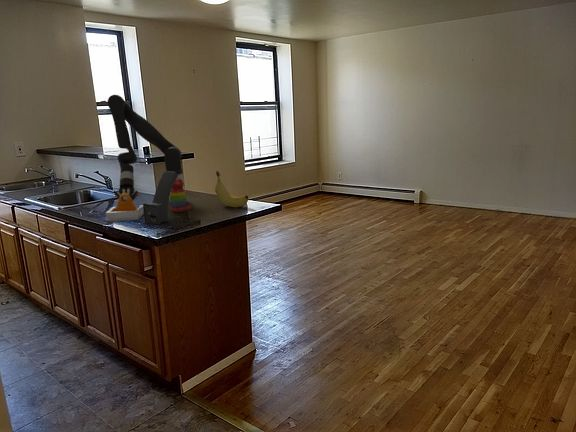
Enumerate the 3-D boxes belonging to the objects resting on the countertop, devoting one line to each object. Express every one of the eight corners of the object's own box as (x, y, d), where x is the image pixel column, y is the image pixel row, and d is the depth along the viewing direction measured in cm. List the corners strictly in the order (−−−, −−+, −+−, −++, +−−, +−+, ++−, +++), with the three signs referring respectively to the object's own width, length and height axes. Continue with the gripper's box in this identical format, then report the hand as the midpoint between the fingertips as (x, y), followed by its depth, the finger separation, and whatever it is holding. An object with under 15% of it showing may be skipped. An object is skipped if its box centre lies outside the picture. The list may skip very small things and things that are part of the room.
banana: (251, 207, 249) (249, 172, 244) (245, 209, 244) (243, 173, 239) (220, 203, 260) (218, 170, 255) (214, 205, 255) (211, 171, 251)
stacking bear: (192, 208, 251) (190, 177, 247) (183, 212, 242) (180, 180, 238) (176, 207, 255) (173, 177, 250) (166, 211, 245) (163, 180, 241)
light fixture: (184, 217, 231) (180, 171, 225) (158, 225, 217) (153, 176, 211) (170, 215, 236) (165, 170, 231) (144, 222, 222) (138, 175, 217)
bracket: (144, 213, 243) (143, 205, 242) (138, 219, 229) (137, 211, 228) (114, 214, 242) (113, 206, 240) (106, 221, 228) (105, 213, 227)
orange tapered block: (114, 218, 235) (111, 196, 232) (116, 214, 241) (114, 193, 238) (135, 216, 237) (133, 194, 234) (137, 213, 243) (134, 192, 241)
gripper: (113, 177, 244) (112, 204, 235) (138, 176, 247) (137, 202, 238) (115, 185, 250) (115, 211, 242) (140, 184, 253) (140, 209, 244)
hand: (126, 206), depth 240 cm, fingers closed
